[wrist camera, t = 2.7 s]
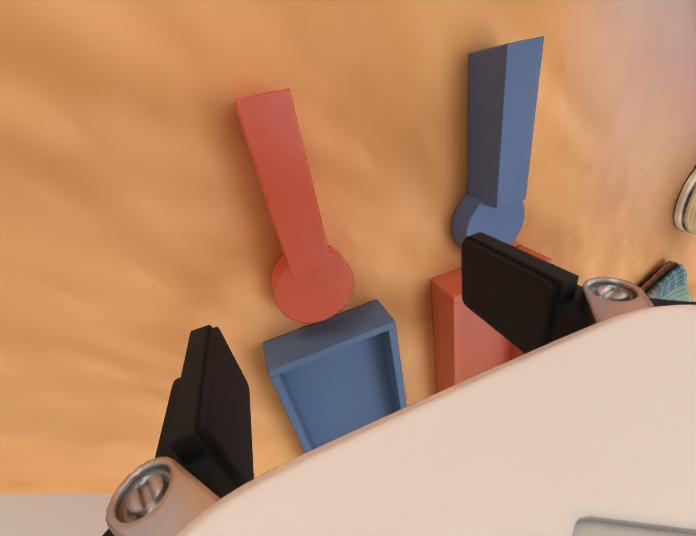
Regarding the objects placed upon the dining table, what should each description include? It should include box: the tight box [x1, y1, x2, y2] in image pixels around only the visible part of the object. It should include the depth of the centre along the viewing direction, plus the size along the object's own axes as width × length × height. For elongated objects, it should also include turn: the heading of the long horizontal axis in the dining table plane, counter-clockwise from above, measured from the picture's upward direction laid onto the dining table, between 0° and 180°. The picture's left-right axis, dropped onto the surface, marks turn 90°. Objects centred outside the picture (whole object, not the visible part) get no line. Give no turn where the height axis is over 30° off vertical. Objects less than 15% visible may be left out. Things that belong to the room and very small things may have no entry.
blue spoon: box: [451, 36, 544, 247], centre depth 20 cm, size 14×5×3 cm, turn 11°
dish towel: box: [640, 261, 691, 302], centre depth 42 cm, size 17×23×3 cm
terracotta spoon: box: [234, 89, 354, 323], centre depth 18 cm, size 14×5×3 cm, turn 11°
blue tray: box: [263, 300, 407, 453], centre depth 26 cm, size 17×9×3 cm, turn 11°
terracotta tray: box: [431, 245, 551, 393], centre depth 29 cm, size 17×9×3 cm, turn 11°
